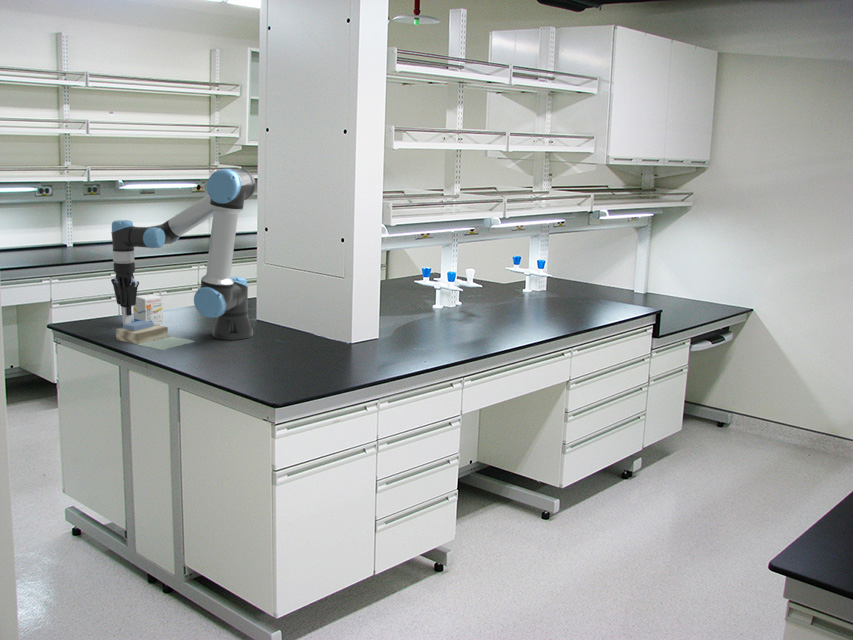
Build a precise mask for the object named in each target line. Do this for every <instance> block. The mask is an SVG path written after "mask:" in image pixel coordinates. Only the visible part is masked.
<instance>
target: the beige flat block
mask: <svg viewBox="0 0 853 640" xmlns="http://www.w3.org/2000/svg"><path fill="white" fill-rule="evenodd" d="M168 328H169V327H168V326H163V325H154V324H153V327H149V328H144V329H140V330H135V331H133V330H128V329H123V327H120V328H116V329H115V339H116V341H121V342H126V343H130V344H135V345H138V344H143V343H146V342H150V341H154V340H159V339H164V338H168V337H169V330H168Z"/></svg>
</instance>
